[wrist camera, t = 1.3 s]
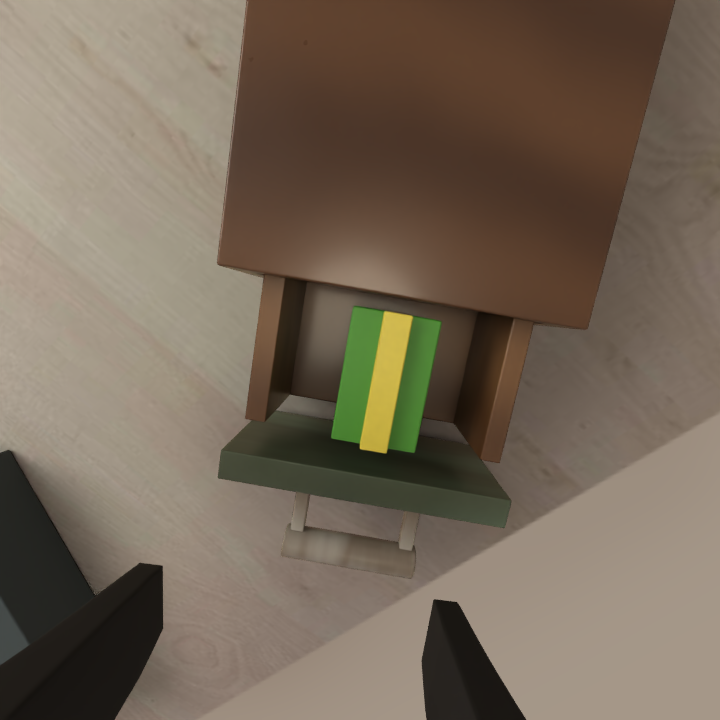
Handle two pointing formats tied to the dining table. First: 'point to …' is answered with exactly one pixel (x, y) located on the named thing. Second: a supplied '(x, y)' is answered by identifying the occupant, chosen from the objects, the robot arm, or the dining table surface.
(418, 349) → the yellow-striped green block
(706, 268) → the dining table surface
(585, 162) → the cabinet
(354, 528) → the dining table surface
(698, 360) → the dining table surface
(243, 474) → the drawer
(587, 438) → the dining table surface
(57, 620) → the dark grey square tile
